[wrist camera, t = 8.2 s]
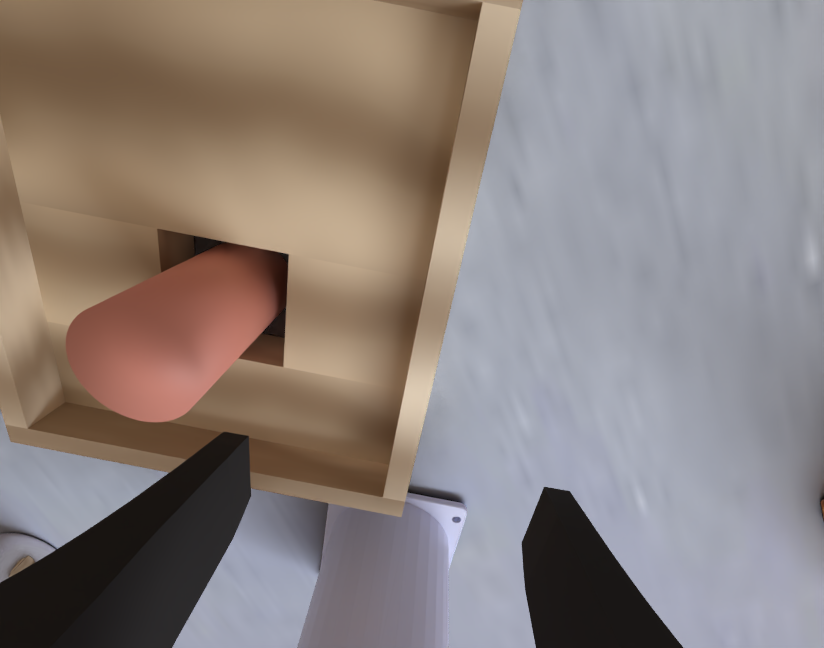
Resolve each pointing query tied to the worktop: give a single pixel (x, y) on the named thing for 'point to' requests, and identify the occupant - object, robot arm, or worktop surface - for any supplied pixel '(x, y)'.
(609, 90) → the worktop surface
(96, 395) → the peg
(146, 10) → the box
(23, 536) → the beer glass
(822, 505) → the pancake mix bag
